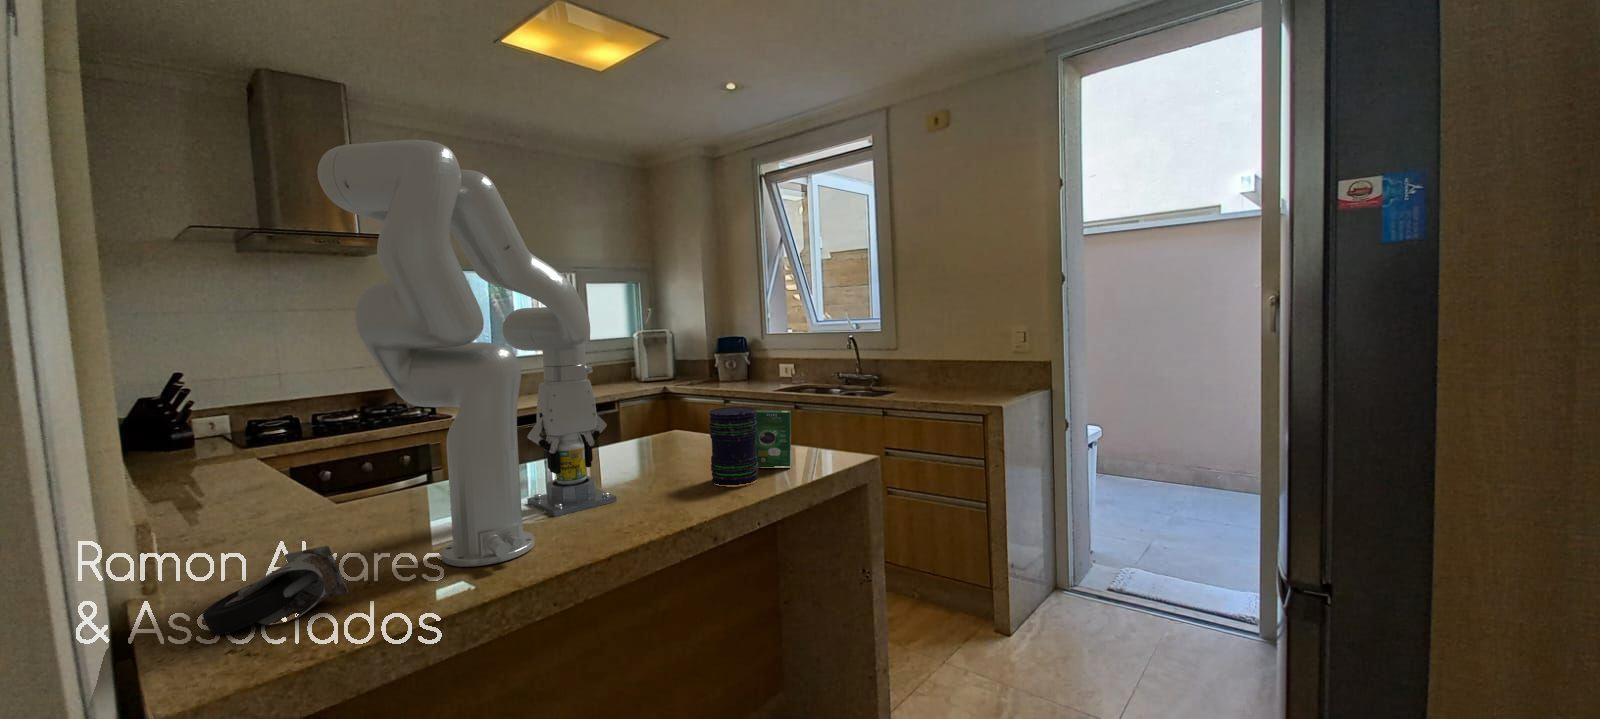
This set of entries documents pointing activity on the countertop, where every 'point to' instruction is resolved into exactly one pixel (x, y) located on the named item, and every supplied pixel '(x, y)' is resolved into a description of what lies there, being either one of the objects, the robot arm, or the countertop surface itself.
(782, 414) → the coffee box
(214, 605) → the caster wheel
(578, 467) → the supplement bottle
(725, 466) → the storage jar
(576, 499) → the pipe flange
